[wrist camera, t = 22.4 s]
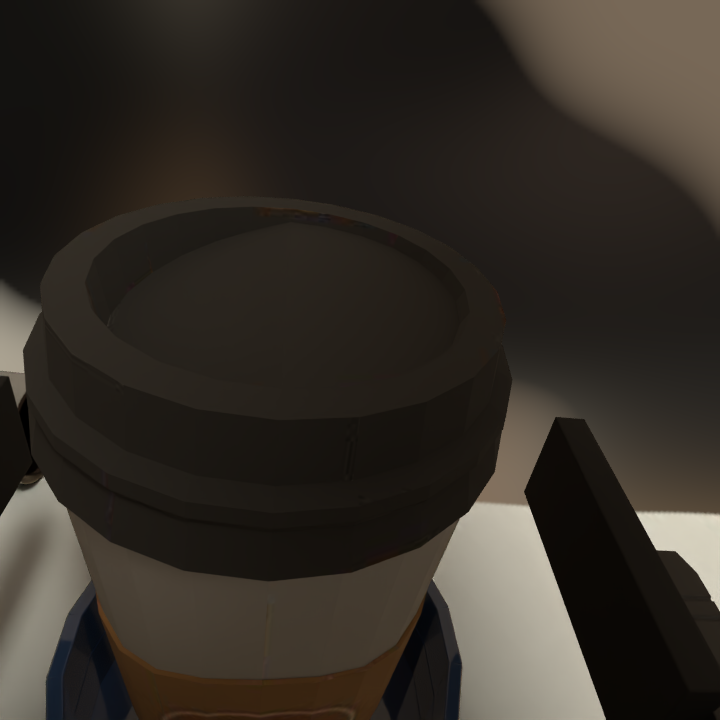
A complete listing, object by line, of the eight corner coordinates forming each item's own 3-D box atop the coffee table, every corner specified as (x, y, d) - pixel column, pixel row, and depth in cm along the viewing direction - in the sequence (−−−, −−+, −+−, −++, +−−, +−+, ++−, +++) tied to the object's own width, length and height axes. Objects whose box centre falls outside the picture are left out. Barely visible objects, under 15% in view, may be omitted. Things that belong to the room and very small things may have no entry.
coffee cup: (74, 891, 14) (-163, 436, 5) (150, 585, 21) (97, 170, 12) (408, 870, 15) (640, 468, 7) (376, 586, 22) (471, 208, 13)
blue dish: (495, 834, 16) (544, 769, 14) (83, 1067, 12) (45, 1036, 10) (350, 538, 24) (364, 462, 22) (68, 617, 20) (45, 534, 17)
